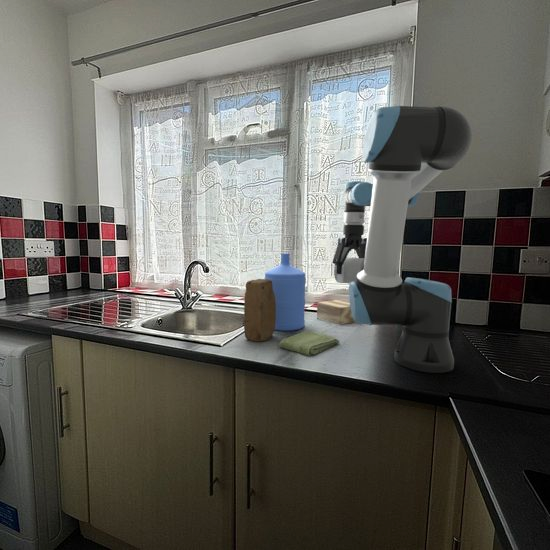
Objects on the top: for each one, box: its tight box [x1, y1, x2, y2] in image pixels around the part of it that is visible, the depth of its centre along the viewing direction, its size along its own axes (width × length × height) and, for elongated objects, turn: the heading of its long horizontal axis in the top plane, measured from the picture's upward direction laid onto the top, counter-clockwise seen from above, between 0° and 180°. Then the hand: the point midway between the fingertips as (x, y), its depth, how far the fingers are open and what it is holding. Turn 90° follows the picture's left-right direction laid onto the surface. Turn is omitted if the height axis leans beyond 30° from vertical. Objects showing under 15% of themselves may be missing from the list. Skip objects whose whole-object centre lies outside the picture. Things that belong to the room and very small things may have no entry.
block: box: [243, 278, 276, 342], centre depth 112 cm, size 11×8×20 cm
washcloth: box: [279, 330, 340, 357], centre depth 106 cm, size 13×18×3 cm
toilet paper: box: [333, 256, 365, 285], centre depth 128 cm, size 10×10×10 cm
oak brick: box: [316, 299, 355, 325], centre depth 142 cm, size 13×13×7 cm
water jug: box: [264, 253, 307, 332], centre depth 128 cm, size 16×16×28 cm
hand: (351, 281), depth 128 cm, fingers closed on toilet paper, 11 cm apart
